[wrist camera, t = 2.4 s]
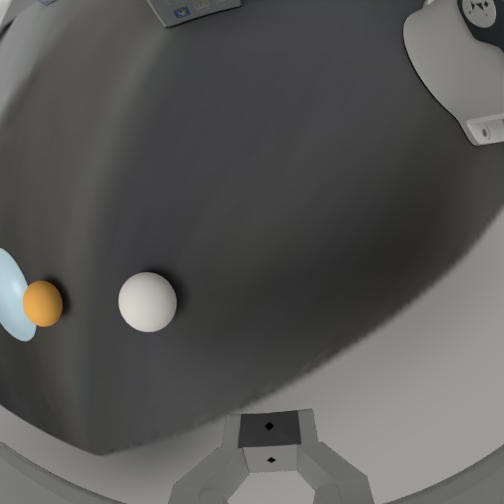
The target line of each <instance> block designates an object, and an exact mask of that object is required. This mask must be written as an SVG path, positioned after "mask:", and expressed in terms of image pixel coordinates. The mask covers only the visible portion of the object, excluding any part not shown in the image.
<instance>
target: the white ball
mask: <svg viewBox="0 0 504 504" xmlns="http://www.w3.org/2000/svg"><path fill="white" fill-rule="evenodd" d="M176 306H177V300H176V295H175V292H174V290H173V288H172V286H171V285H170V283H169V282H168V281H167V280H166V279H165V278H163V277H162V276H160V275H158V274H155V273H150V272H143V273H139V274H136V275H134V276H132V277H131V278H129V279H128V280H127V281H126V282H125V283H124V285H123V286H122V288H121V291H120V294H119V308H120V311H121V314H122V316H123V318H124V319H125V320H126V322H127V323H128V324H129V325H131V326H132V327H133V328H135V329H137V330H140V331H144V332H154V331H157V330H160V329H162V328H164V327H165V326H166V325H168V324H169V322H170V321H171V320H172V318H173V317H174V314H175V311H176Z"/></svg>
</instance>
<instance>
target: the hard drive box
mask: <svg viewBox="0 0 504 504" xmlns="http://www.w3.org/2000/svg"><path fill="white" fill-rule="evenodd" d="M147 2H148V3H149V5H150V6H151V8H152V9H153V11H154V12H155V14H156V15H157V17H158V18H159V20H160V21H161V23H162V24H163V25H164V26H165V27H167V26H168V27H171V26H173V25H176V24H179V23H182V22H184V21H187V20H190V19H193V18H197V17H200V16H203V15H207V14H210V13H214V12H217V11H221V10H226V9H230V8H234V7H238V6H240V5H241V0H147Z"/></svg>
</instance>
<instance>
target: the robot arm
mask: <svg viewBox="0 0 504 504" xmlns="http://www.w3.org/2000/svg"><path fill="white" fill-rule="evenodd" d="M403 35H404V42H405V46H406V49H407V52H408V55H409V57H410V59H411V62H412V64H413V66H414V68H415V69H416V71H417V73H418V75H419V76H420V78H421V79H422V81H423V82H424V84H425V85H426V87H427V88H428V89H429V91H430V92H431V93H432V94H433V95H434V97H435V98H436V99H437V100H438V101H439V102H440V103H441V104H442V105H443V106H444V107H445V108H446V109H447V110H448V111H449V112H450V113H451V114H452V115H453V116H454V117H455V118H456V119H457V120H458V121H459V123H460V125H461V127H462V128H463V130H464V132H465V134H466V135H467V137H468V139H469V140H470V142H471V143H472V144H473V145H475V146H480V145H487V144H493V143H499V142H504V0H426V1H425V2H424V5H423V8H422V9H420V10H418V11H416V12H414V13H412V14H411V15H410V16H409V17H408V18H407V19H406V21H405V23H404V28H403ZM293 470H297V472H298V473H299V474H300V475H301V476H302V477H303V478H304V479H305V481H306V482H307V483H308V484H309V485H310V486H311V487H312V488H313V489H314V490H315V496H314V502H313V504H374V501H373V497H372V493H371V489H370V485H369V482H368V478H367V476H366V475H364V474H363V473H362V472H360V471H359V470H358V469H357V468H355V467H354V466H352V465H351V464H350V463H349V462H347V461H346V460H345V459H343V458H342V457H341V456H340V455H338V454H337V453H336V452H335V451H333V450H332V449H331V448H330V447H328V446H327V445H326V444H325V443H323V442H318V438H317V432H316V426H315V421H314V415H313V410H312V409H304V410H298V411H297V410H294V411H285V412H274V413H263V414H228V415H227V417H226V422H225V428H224V434H223V440H222V445H221V448H216V449H215V450H214V451H213V452H212V453H211V454H209V455H208V456H207V457H206V458H205V459H204V460H203V461H201V462H200V463H199V464H198V465H197V466H196V467H194V469H192V470H191V471H190V472H188V473H187V474H186V475H185V476H184V477H183V478H181V479H180V480H179V481H177V482H176V483H175V484H174V485H173V488H172V492H171V495H170V498H169V502H168V504H228V503H227V500H228V499H229V498H230V497H231V495H232V494H233V493H234V492H235V491H236V490H237V489H238V487H239V486H240V485H241V483H243V481H244V480H245V479H246V478H247V476H248V475H249V473H258V472H275V471H293ZM0 504H125V503H122V502H119V501H116V500H113V499H110V498H107V497H104V496H102V495H99V494H97V493H94V492H92V491H89V490H87V489H84V488H82V487H80V486H78V485H75V484H73V483H71V482H69V481H67V480H64V479H63V478H61V477H59V476H57V475H55V474H53V473H51V472H49V471H47V470H45V469H44V468H42V467H40V466H38V465H37V464H35V463H33V462H32V461H30V460H28V459H27V458H25V457H23V456H22V455H20V454H19V453H17V452H16V451H14V450H13V449H12V448H10V447H9V446H7V445H6V444H4V443H2V442H0ZM384 504H504V445H502V446H501V447H499V448H498V449H497V450H495V451H494V452H492V453H491V454H489V455H488V456H486V457H484V458H483V459H481V460H480V461H478V462H476V463H475V464H473V465H471V466H470V467H468V468H466V469H464V470H463V471H461V472H459V473H457V474H455V475H453V476H451V477H449V478H447V479H445V480H443V481H441V482H439V483H437V484H435V485H432V486H430V487H428V488H425V489H423V490H421V491H418V492H416V493H413V494H411V495H408V496H405V497H402V498H400V499H397V500H394V501H391V502H388V503H384Z"/></svg>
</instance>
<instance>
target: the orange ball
mask: <svg viewBox="0 0 504 504" xmlns="http://www.w3.org/2000/svg"><path fill="white" fill-rule="evenodd" d="M23 308H24V311H25V314H26V315H27V317H28V318H29V320H30V321H31V322H33V323H34V324H36V325H38V326H42V327H46V326H50V325H52V324H54V323H55V322H56V321H57V320H58V319H59V317H60V315H61V312H62V298H61V295H60V293H59V291H58V290H57V288H56V287H55V286H54V285H52V284H51V283H49V282H47V281H36V282H34V283H32V284H30V285H29V286H28V288H27V289H26V291H25V293H24V296H23Z"/></svg>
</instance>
